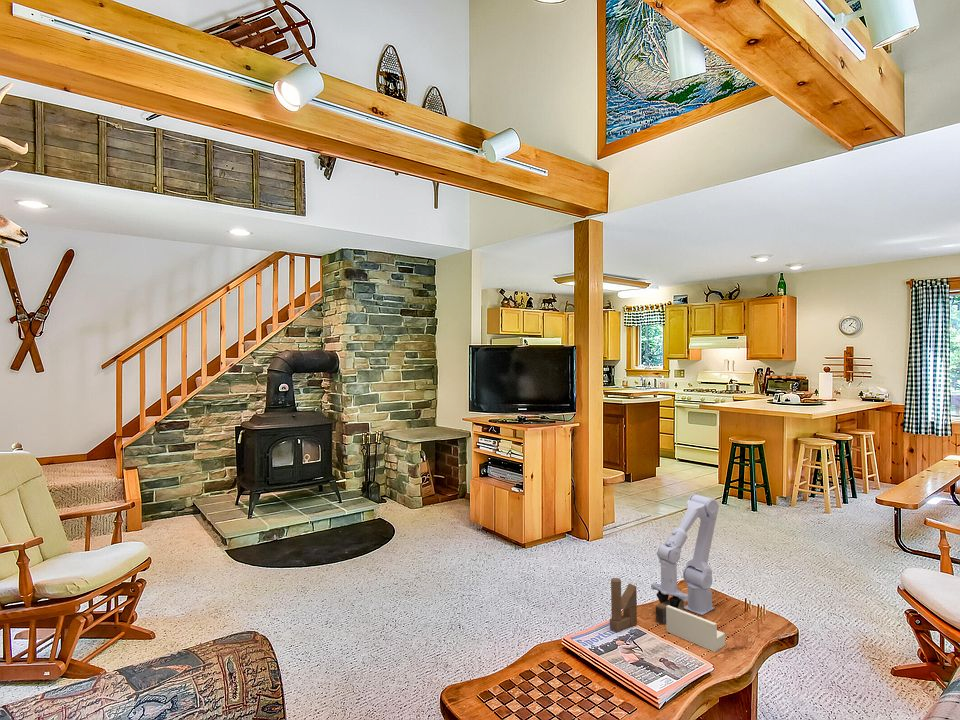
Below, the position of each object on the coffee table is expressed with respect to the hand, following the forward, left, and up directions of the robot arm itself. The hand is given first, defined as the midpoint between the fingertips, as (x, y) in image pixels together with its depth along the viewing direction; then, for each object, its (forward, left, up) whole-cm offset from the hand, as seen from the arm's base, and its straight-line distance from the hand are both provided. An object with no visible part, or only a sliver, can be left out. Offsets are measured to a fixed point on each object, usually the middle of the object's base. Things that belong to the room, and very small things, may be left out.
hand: (669, 613), depth 200 cm
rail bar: (0, 0, -2) cm, 2 cm away
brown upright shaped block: (+19, -7, -2) cm, 20 cm away
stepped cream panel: (+7, +14, -2) cm, 16 cm away
